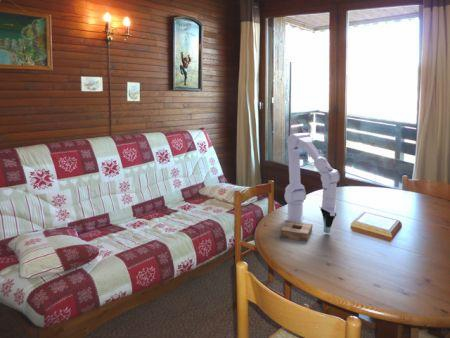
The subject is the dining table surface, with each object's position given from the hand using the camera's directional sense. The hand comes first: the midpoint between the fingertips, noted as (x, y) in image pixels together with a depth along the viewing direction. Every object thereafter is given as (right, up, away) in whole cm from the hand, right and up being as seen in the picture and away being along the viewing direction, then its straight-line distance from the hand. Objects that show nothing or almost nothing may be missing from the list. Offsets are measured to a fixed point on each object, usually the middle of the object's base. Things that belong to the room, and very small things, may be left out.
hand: (327, 225), depth 178 cm
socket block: (-14, -4, +1) cm, 15 cm away
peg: (0, -3, +1) cm, 3 cm away
